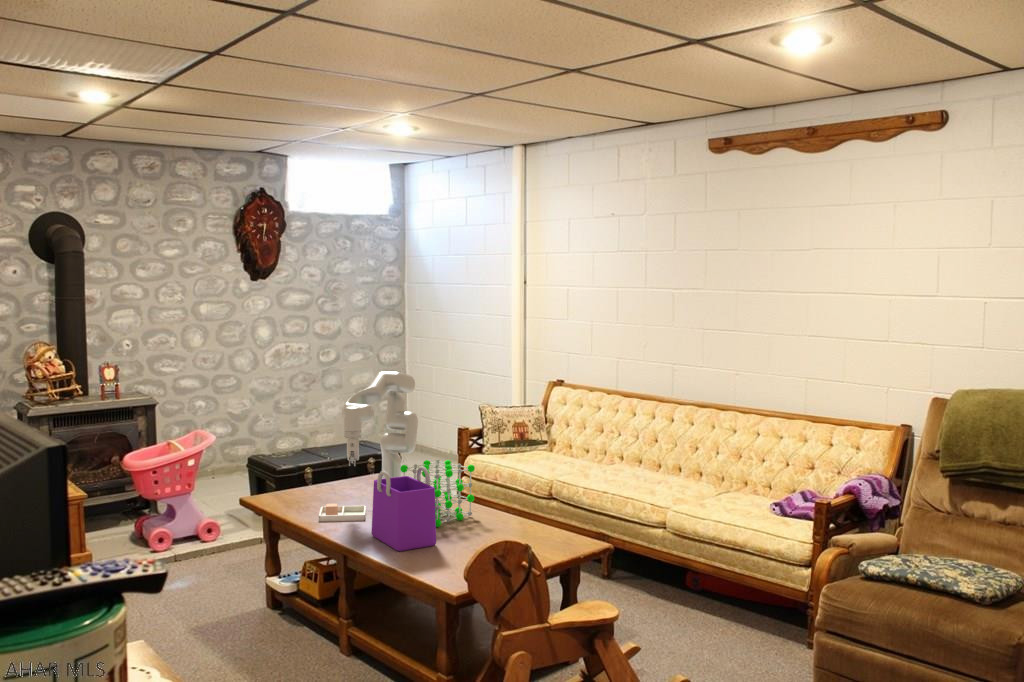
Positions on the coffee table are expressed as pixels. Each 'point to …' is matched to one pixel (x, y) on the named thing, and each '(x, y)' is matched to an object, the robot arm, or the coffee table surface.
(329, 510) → the plain light orange cube
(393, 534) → the shopping bag
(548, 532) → the coffee table surface
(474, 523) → the coffee table surface
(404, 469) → the molecular structure model
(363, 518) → the sorting box
